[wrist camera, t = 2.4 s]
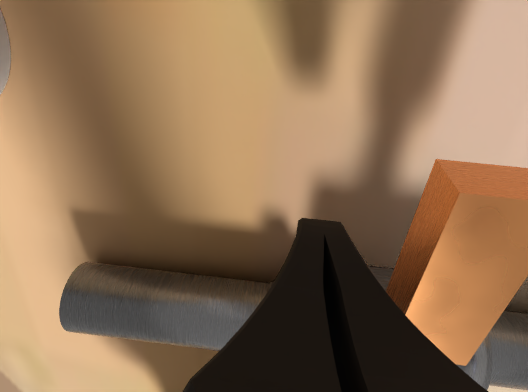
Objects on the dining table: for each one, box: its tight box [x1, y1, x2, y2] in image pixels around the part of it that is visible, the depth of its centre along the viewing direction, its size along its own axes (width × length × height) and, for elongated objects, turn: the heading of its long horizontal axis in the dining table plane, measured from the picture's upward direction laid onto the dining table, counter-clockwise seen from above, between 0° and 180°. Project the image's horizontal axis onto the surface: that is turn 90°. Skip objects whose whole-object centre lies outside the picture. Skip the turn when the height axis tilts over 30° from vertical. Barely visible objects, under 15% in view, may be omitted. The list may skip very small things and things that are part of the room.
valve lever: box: [386, 159, 528, 366], centre depth 12 cm, size 13×3×2 cm, turn 176°
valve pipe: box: [59, 262, 528, 390], centre depth 17 cm, size 6×30×5 cm, turn 86°
